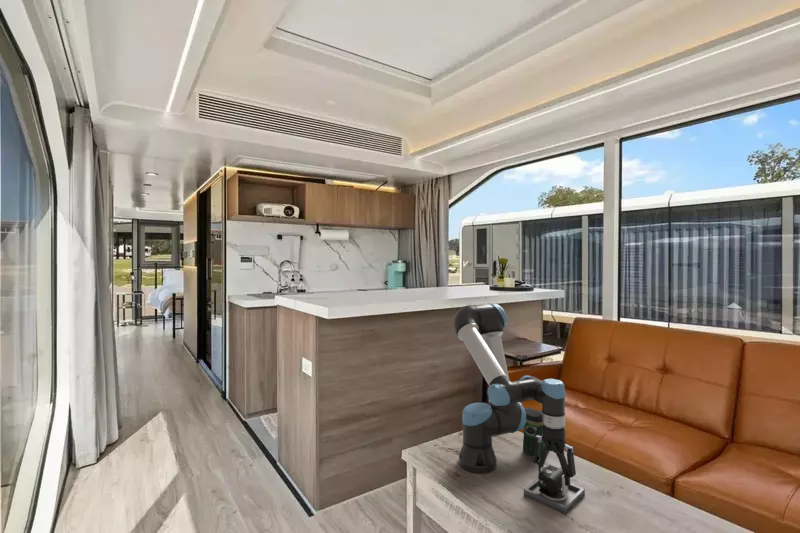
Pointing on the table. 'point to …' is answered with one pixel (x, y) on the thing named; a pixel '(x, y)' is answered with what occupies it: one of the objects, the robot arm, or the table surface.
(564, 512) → the grey square tray
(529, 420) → the coffee jar
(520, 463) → the table surface
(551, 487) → the end cap
